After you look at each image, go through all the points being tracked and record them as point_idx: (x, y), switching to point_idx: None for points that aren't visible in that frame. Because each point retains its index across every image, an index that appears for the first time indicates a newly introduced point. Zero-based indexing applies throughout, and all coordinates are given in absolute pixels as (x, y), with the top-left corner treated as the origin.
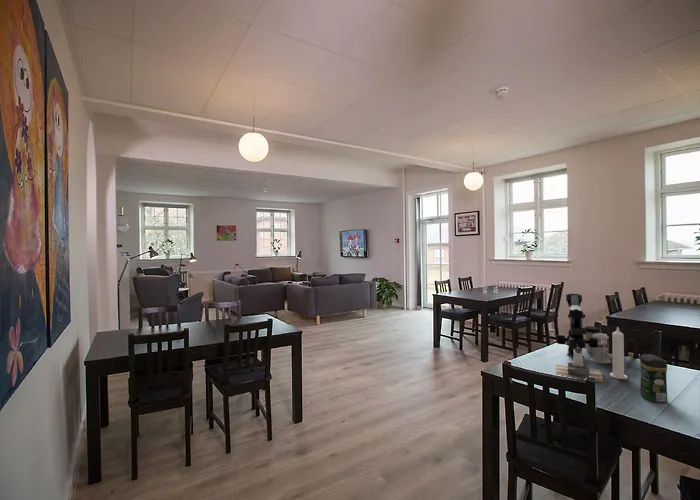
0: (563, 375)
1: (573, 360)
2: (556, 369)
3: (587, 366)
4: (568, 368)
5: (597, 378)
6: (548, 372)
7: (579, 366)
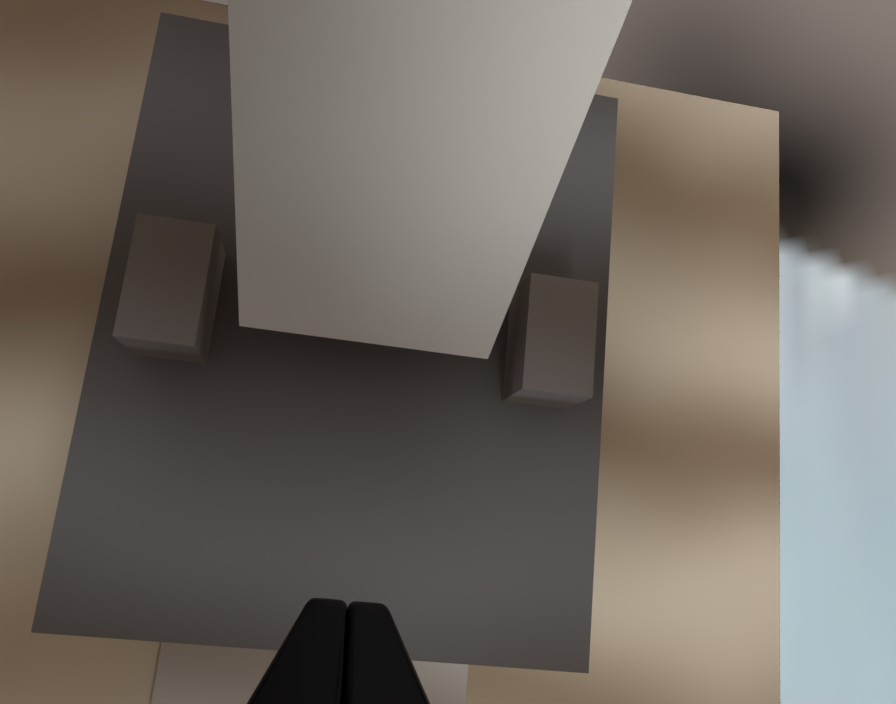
0: (655, 89)
1: (517, 276)
2: (767, 417)
3: (97, 416)
4: (610, 109)
5: (31, 72)
6: (871, 309)
7: (327, 345)
